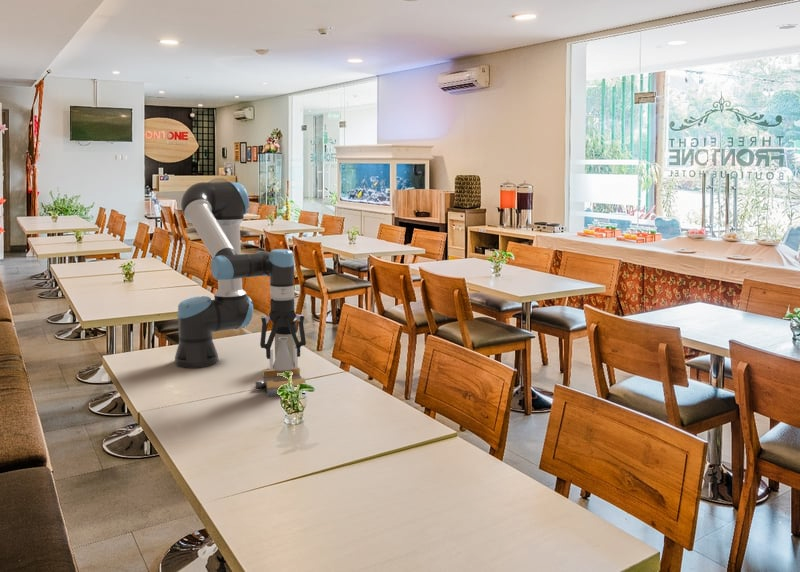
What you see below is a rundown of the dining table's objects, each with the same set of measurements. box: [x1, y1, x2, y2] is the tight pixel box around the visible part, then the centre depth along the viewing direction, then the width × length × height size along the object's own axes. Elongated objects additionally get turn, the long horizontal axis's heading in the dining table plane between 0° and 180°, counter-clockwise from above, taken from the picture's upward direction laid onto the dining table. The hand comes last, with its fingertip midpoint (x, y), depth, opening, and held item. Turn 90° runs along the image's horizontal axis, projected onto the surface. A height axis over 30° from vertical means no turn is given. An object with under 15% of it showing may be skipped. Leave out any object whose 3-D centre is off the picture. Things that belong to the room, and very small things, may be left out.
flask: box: [273, 337, 294, 371], centre depth 223 cm, size 7×7×10 cm
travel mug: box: [274, 318, 299, 368], centre depth 245 cm, size 8×8×18 cm
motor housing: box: [255, 367, 306, 398], centre depth 224 cm, size 14×15×4 cm
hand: (283, 367), depth 224 cm, fingers closed on flask, 7 cm apart
